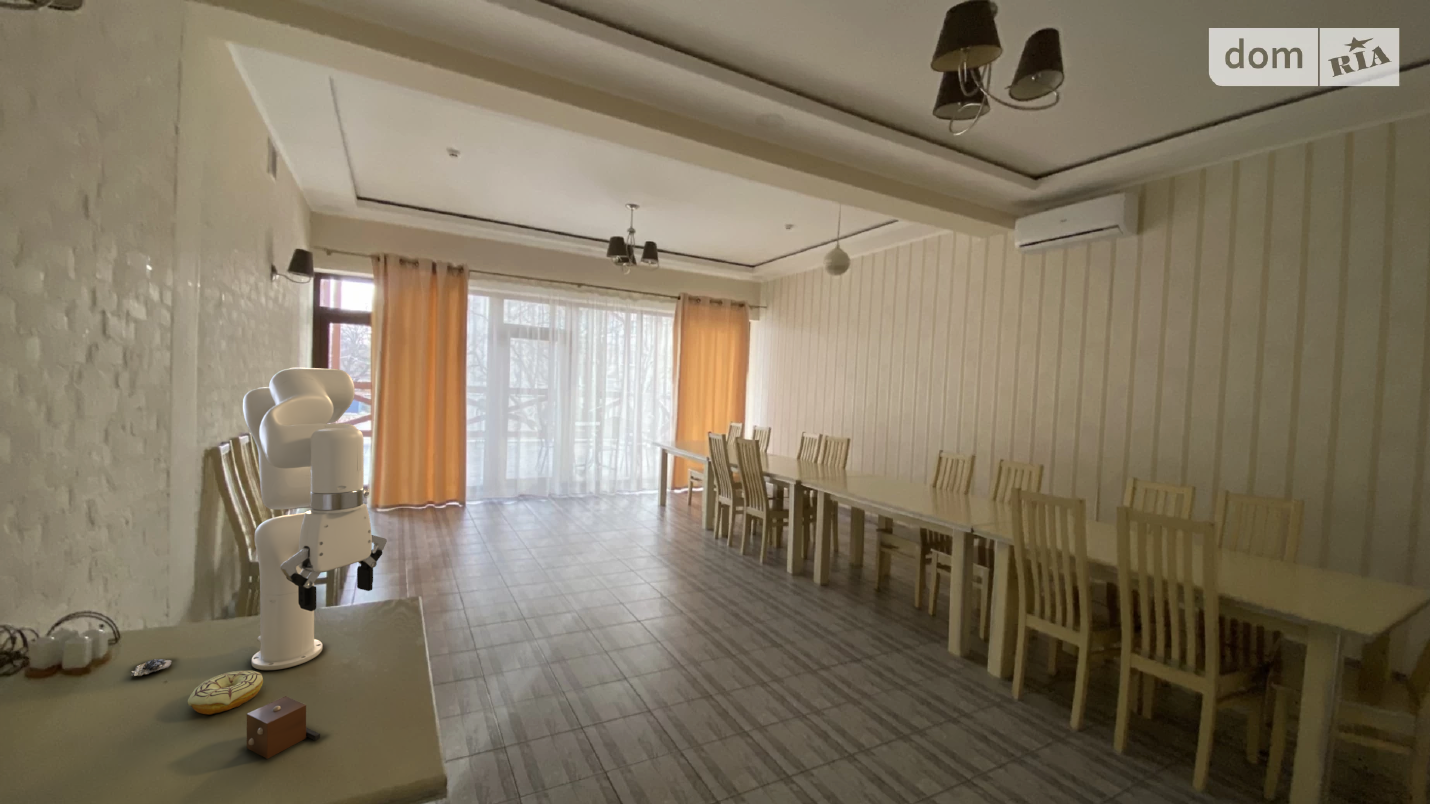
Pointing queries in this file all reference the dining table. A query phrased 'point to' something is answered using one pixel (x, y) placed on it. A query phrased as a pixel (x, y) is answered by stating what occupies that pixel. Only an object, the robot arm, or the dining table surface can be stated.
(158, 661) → the oyster shell
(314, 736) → the stop strip
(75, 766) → the dining table surface
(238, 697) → the decorated donut
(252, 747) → the die
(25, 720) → the dining table surface
